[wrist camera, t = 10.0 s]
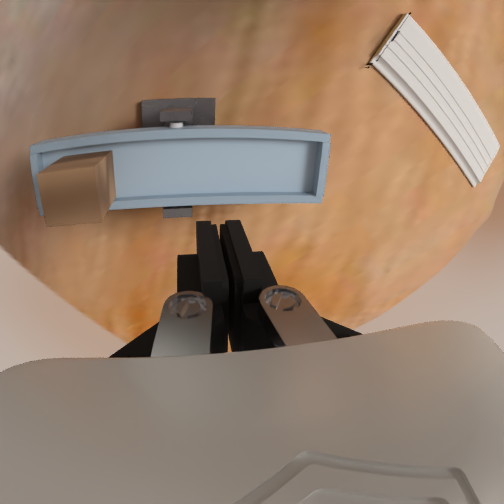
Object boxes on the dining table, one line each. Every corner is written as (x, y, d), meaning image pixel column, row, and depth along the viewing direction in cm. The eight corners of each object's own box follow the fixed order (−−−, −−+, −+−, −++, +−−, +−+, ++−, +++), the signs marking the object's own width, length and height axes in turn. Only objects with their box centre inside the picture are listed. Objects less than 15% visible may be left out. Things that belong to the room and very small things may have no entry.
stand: (61, 110, 27) (31, 118, 21) (300, 102, 33) (328, 107, 26) (70, 206, 33) (48, 234, 27) (291, 196, 39) (314, 221, 32)
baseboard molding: (467, 191, 46) (494, 144, 42) (477, 197, 43) (505, 148, 39) (361, 69, 32) (400, 13, 29) (373, 69, 30) (413, 11, 26)
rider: (63, 156, 24) (36, 174, 18) (112, 150, 25) (94, 166, 19) (69, 200, 26) (46, 227, 21) (116, 195, 27) (101, 222, 22)
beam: (40, 137, 23) (28, 142, 21) (320, 126, 29) (332, 130, 26) (50, 209, 27) (40, 220, 25) (311, 198, 33) (321, 207, 30)
